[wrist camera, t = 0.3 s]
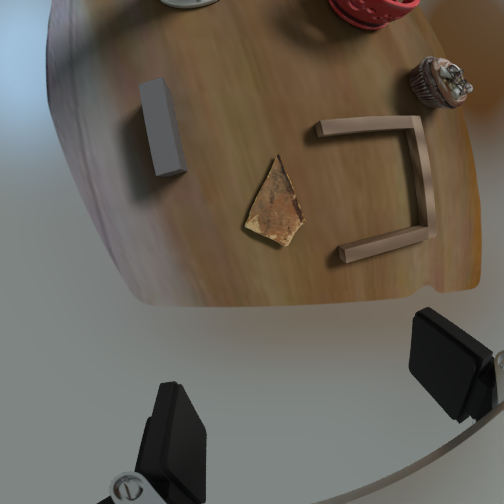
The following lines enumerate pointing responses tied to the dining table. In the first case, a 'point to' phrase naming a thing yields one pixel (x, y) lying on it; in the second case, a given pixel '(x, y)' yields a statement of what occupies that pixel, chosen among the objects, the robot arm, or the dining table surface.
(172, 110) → the block
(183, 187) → the dining table surface
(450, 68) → the cupcake
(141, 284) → the dining table surface
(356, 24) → the plant pot
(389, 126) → the walnut frame
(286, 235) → the shard
